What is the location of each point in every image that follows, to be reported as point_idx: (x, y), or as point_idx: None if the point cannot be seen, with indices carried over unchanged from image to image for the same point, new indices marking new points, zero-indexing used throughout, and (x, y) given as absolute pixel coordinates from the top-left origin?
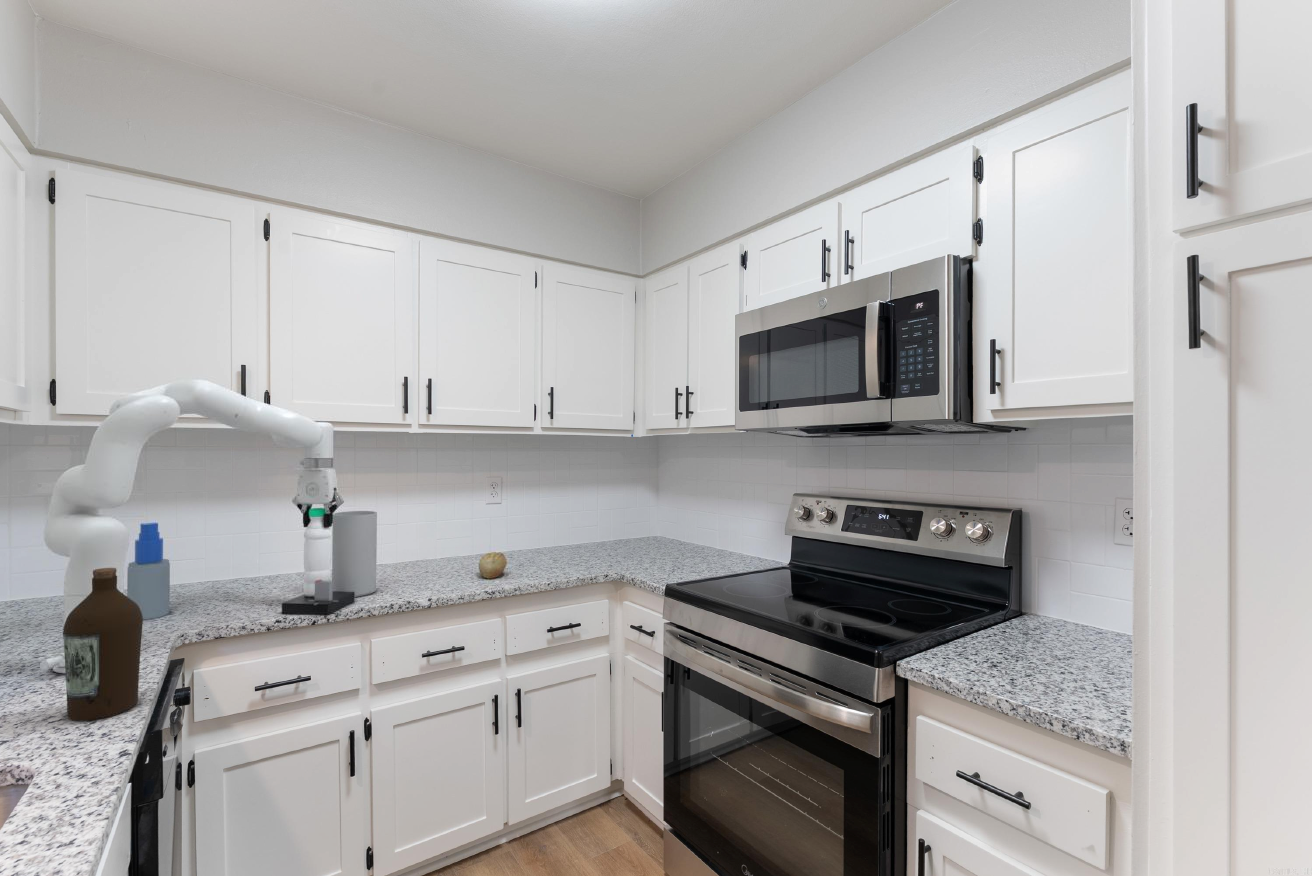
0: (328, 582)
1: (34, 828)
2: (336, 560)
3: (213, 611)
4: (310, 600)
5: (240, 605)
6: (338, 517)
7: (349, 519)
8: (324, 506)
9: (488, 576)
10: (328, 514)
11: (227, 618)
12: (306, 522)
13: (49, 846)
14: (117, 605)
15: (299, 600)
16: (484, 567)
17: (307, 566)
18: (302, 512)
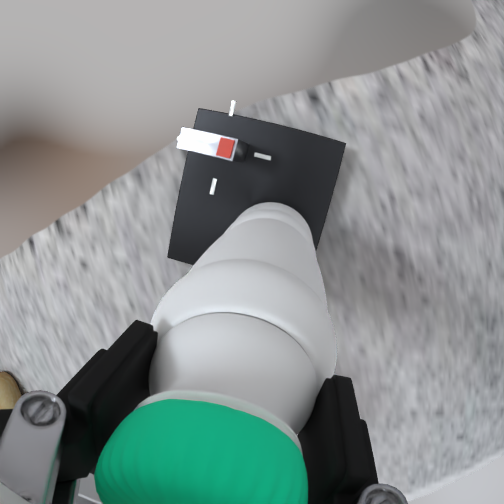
0: (185, 127)
1: None
2: None
3: (501, 217)
4: (264, 154)
5: (464, 266)
6: None
7: (92, 478)
8: (40, 480)
9: (5, 373)
10: (65, 405)
11: (456, 136)
12: (328, 407)
13: None
14: None
15: (302, 167)
16: (2, 387)
17: (292, 228)
18: (386, 497)
